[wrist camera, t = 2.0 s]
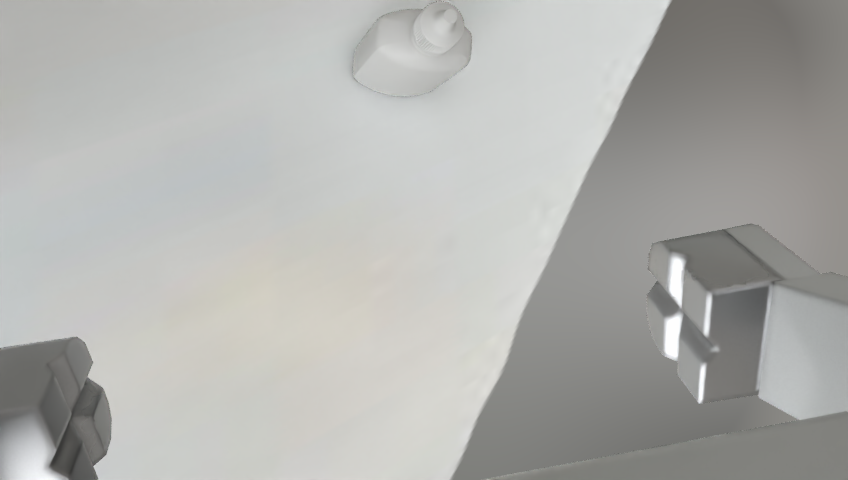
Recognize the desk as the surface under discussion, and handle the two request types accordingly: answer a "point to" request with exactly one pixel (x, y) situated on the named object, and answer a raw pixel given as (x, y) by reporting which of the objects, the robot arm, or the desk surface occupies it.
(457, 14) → the eye dropper bottle
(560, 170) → the desk surface
